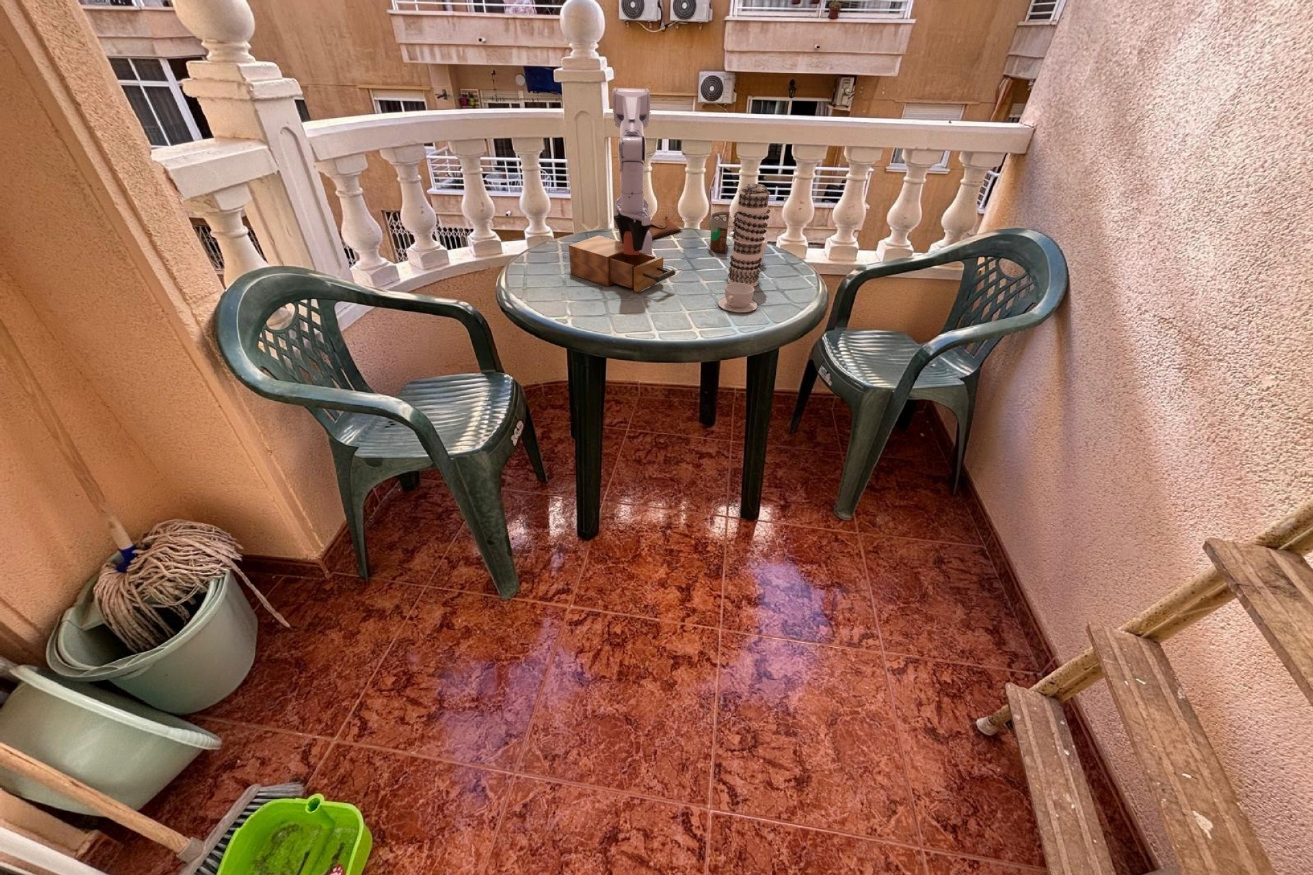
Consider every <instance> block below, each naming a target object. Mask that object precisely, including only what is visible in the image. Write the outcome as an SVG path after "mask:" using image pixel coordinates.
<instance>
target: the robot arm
mask: <svg viewBox="0 0 1313 875" xmlns="http://www.w3.org/2000/svg"><path fill="white" fill-rule="evenodd" d="M650 113H651V91H650V90H649V88H647V87H646V88H626V87H625V88H624V87H623V88H622V87H616V86H615V87H614V88H613V89H612V114H613V122H614V126H616V127H617V128H618V129H619V134H620V135H619V138H618V141H617V144H618V145H617V151H618V152H617V153H618V155H617V156H618V163H619V172H620V174H619V175H620V177H619V178H620V196H619V197H618V198H617V199H616V200H615V202H614V215H613V220H614V229H616V231H618V234H619V241H621V242H622V244H624V234H625V231H631V233H632V239H633V248H634V251H640V252H642V253H645V254H649V255H652V256H653V239H652V236H651V233H650V232H649V228H650V227H651V223H650V221H651V219H652V218H651V216H650V209H649V202H648V200H647V199H646V198H645V197H644V196H645V195H644V192H645V190H644V189H645V188H644V187H645V186H644V185H645V184H644V183H645V164H646V160H647V141H646V136H645V134H644V129H646V128H647V127H648V126H649V123H650Z"/></svg>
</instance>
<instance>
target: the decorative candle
mask: <svg viewBox="0 0 1313 875" xmlns="http://www.w3.org/2000/svg"><path fill="white" fill-rule="evenodd" d="M738 193H739V195H738V202H737V205H736V206H737V207H736V210H737V211H736V212H734V215H733V218H734V219H733V222H732V224H733V229H732V232H733V233H732V236H731V237H732V240H733V241H734V242H733V248H732V249H731V255H730V257H729V258H730V261H729V264H730V266H729V268H728V272H729V273H728V275H727V277H728V279H727V282H728V284H730V283H744V284H748V285H751V286H752V287H753V288H755V287H756V286H758V284H759V278H760V276H759V275H760V273H761V270H760V268H761V266H762V265H761V264H760V262H761V260H762V258H761V252H762V251H761V248H762V243H763V242H764V239H766V238H765V237H764V234H766V233H767V229H766V228H768V223H766V221H767V220H769V219H770V215H769V214H770V212H771V209H769V198H770V195H771V192H770V191H768V187H767V186H766V185H764V184H761V183H760V184H759V183H747V184H744V185H743V186H742V188H741V189H739V190H738Z"/></svg>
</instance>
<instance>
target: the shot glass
mask: <svg viewBox="0 0 1313 875" xmlns="http://www.w3.org/2000/svg"><path fill="white" fill-rule="evenodd" d="M768 242H769V241H768V240H767V239H766V238H765V239H764V242H763V243H762V248H761V251H762V252H761V258H762V260H761V262H760V264H761V266H763V263H764V259H765V255H766V250H767V246H768Z"/></svg>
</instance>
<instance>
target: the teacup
mask: <svg viewBox="0 0 1313 875" xmlns="http://www.w3.org/2000/svg"><path fill="white" fill-rule="evenodd" d="M754 293H755V287H752V286H751V285H748V284H744V283H728V284H726V285H724V297H722V298H720V299H719V300H718V302H717V304H718V306H719V307H720V308H722V309H723V310H726V311H729V312H733V313H749V312H752V311H754V310H756V309H757V308H758V304H757V302H756V301H755V300H753V297H754Z"/></svg>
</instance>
